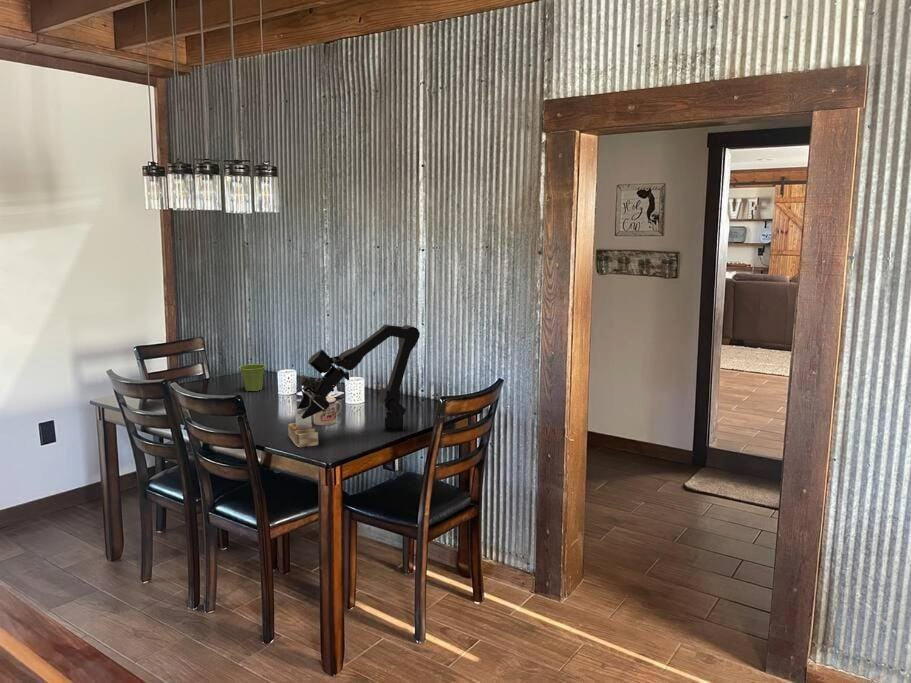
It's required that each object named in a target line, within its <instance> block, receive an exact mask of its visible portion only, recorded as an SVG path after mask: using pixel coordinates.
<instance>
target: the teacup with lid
mask: <svg viewBox="0 0 911 683" xmlns="http://www.w3.org/2000/svg"><path fill="white" fill-rule="evenodd" d="M326 398H327V399H326V400H327V401H328V402H329V407H328V408H327V410H325V409H324V408H323V410H324V411H321V412H318V413H316V414H314V415H312V417H313V424H314V425H316V426H330V425H334V424H335V423H337V415H338V414H339V413H341V411H342V403H341V402H339V401H337V399H336V398H335V397H333V396H330V395H328V396H327V397H326ZM337 404H338V409H337Z"/></svg>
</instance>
